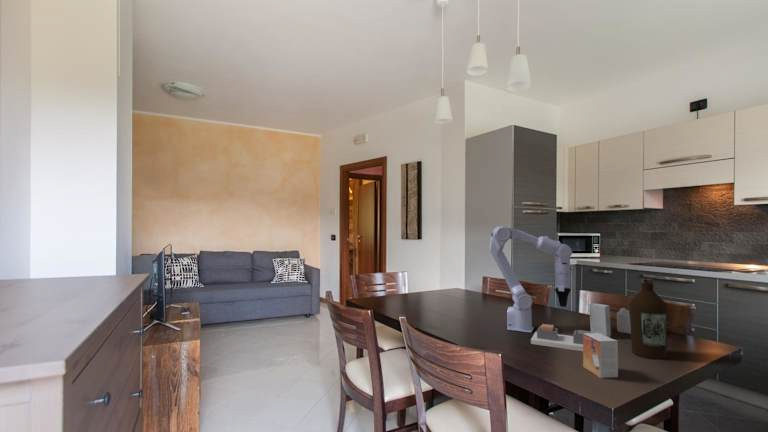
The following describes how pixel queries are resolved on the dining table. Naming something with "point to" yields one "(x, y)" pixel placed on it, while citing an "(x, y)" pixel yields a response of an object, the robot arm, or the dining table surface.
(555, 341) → the console
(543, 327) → the button terracotta
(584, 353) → the small box
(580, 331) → the button grey
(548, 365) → the dining table surface
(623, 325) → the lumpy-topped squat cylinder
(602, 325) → the skincare box
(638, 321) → the olive oil
